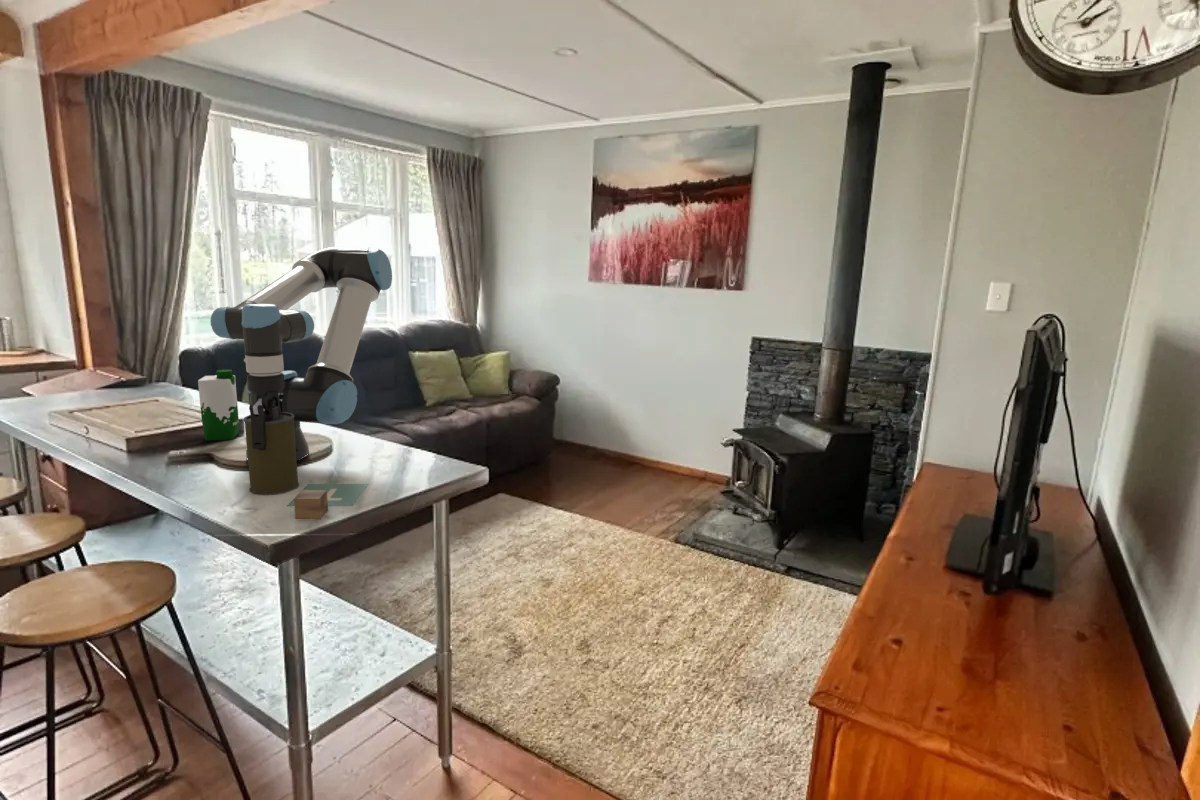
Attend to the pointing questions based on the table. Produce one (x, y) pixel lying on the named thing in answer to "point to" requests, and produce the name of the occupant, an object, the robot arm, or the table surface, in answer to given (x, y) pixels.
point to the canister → (273, 456)
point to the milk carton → (219, 406)
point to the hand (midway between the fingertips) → (272, 470)
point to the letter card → (338, 493)
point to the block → (311, 504)
